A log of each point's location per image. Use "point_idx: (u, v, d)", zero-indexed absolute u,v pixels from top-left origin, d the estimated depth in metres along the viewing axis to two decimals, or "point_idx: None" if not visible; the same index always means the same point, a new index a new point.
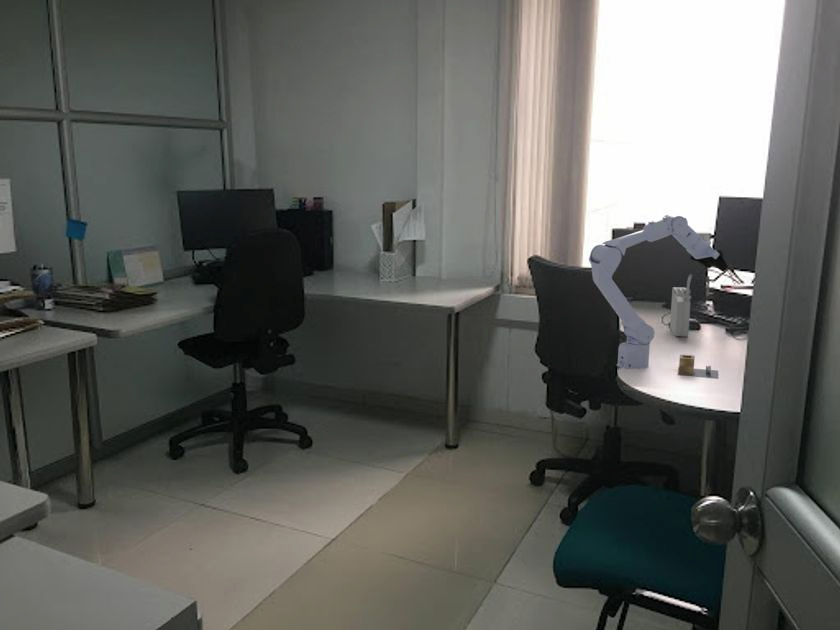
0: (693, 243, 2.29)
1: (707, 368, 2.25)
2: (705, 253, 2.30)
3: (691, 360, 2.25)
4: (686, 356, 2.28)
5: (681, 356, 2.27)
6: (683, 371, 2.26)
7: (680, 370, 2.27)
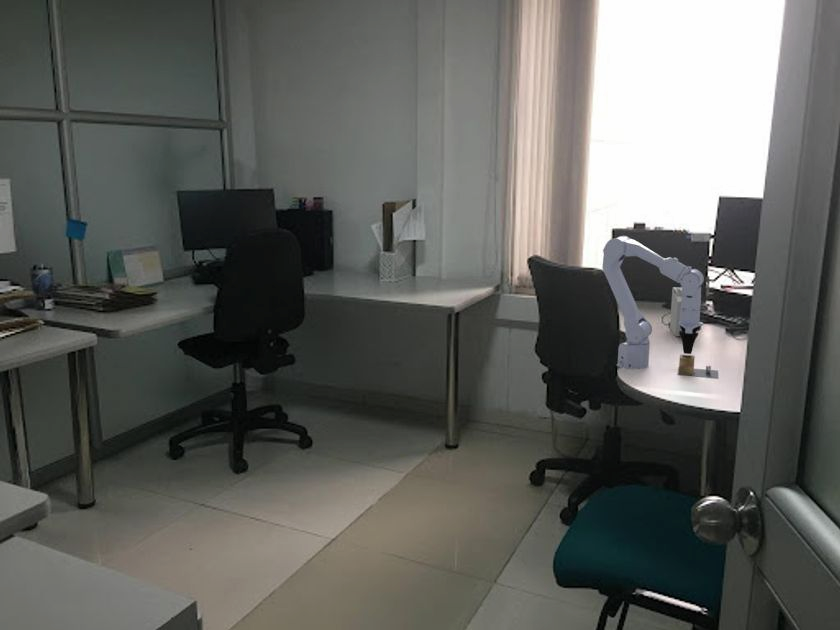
0: (685, 307, 2.22)
1: (707, 368, 2.25)
2: (687, 325, 2.22)
3: (691, 360, 2.25)
4: (686, 356, 2.28)
5: (681, 356, 2.27)
6: (683, 371, 2.26)
7: (680, 370, 2.27)
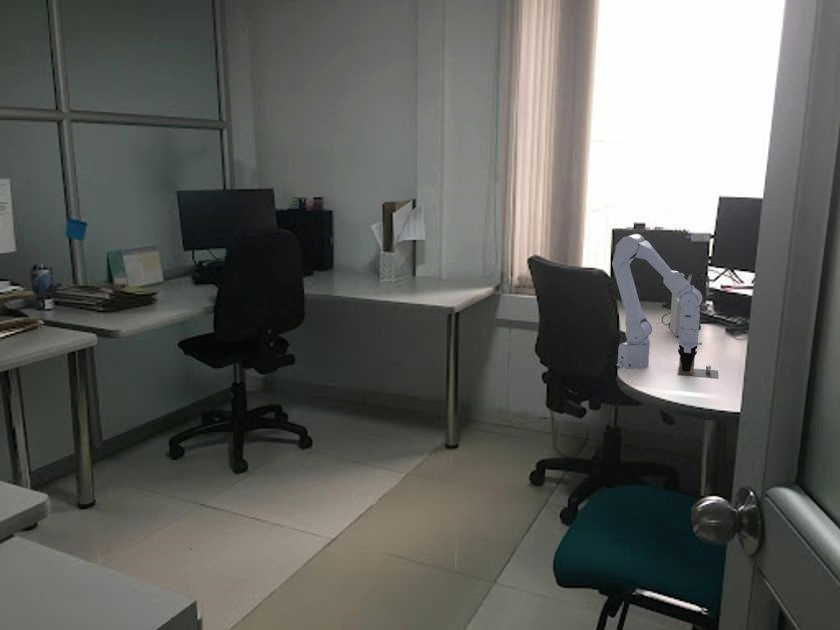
0: (684, 326, 2.23)
1: (707, 368, 2.25)
2: (685, 344, 2.24)
3: None
4: None
5: None
6: (683, 371, 2.26)
7: (680, 370, 2.27)
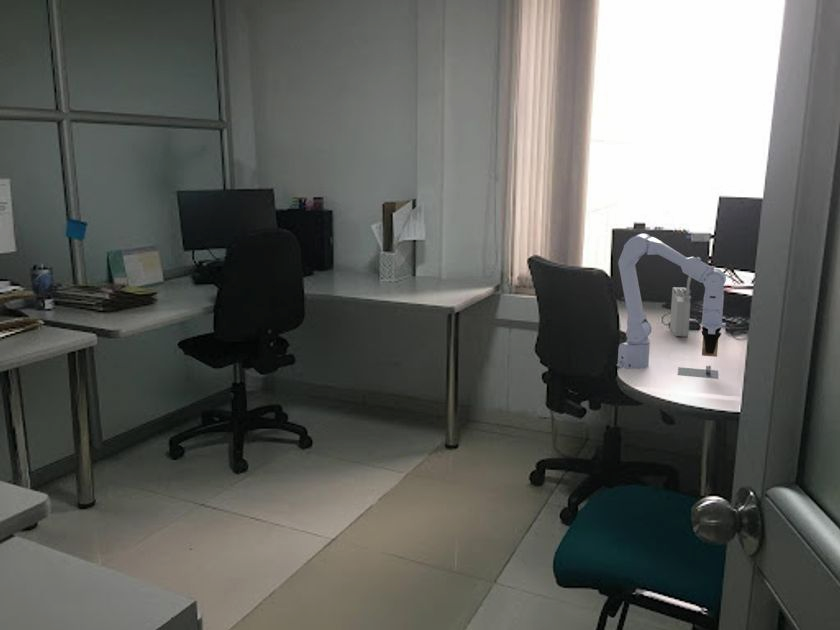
0: (708, 307, 2.19)
1: (707, 368, 2.25)
2: (709, 325, 2.20)
3: None
4: None
5: None
6: (706, 353, 2.23)
7: (703, 352, 2.23)
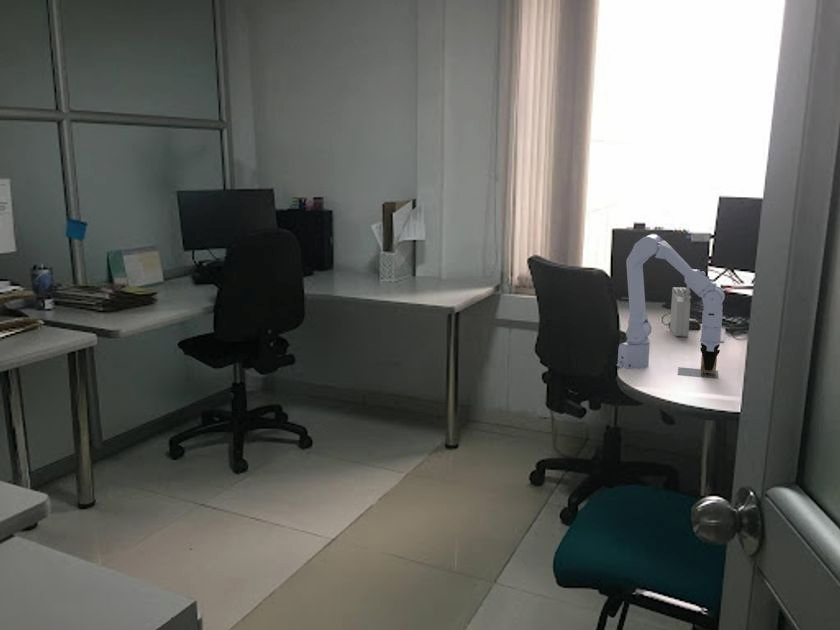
0: (707, 324, 2.20)
1: None
2: (708, 342, 2.21)
3: None
4: None
5: None
6: (705, 370, 2.24)
7: (702, 369, 2.24)
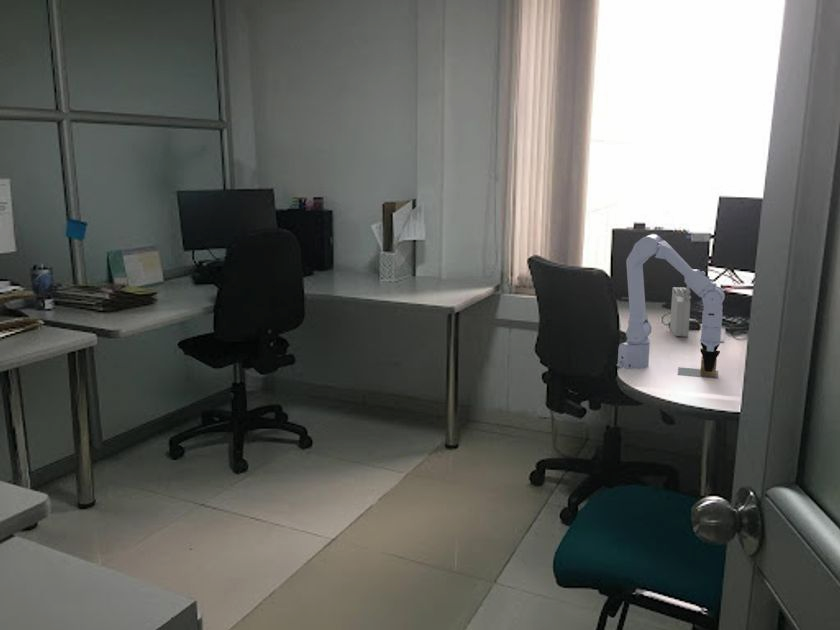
0: (707, 324, 2.20)
1: None
2: (708, 342, 2.21)
3: None
4: None
5: None
6: (705, 373, 2.24)
7: (702, 372, 2.24)
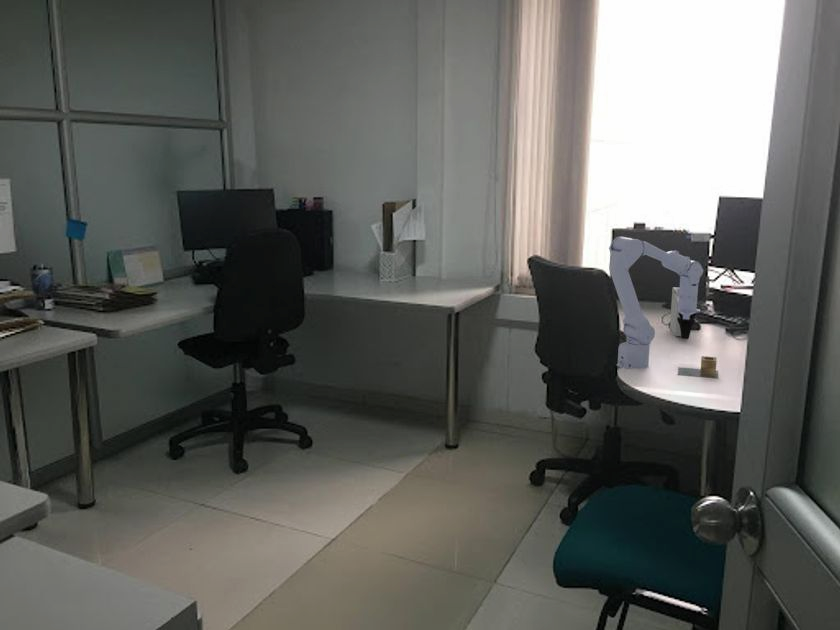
0: (691, 295, 2.33)
1: None
2: (684, 311, 2.35)
3: (713, 362, 2.22)
4: (708, 358, 2.26)
5: (703, 358, 2.25)
6: (705, 373, 2.24)
7: (702, 372, 2.24)
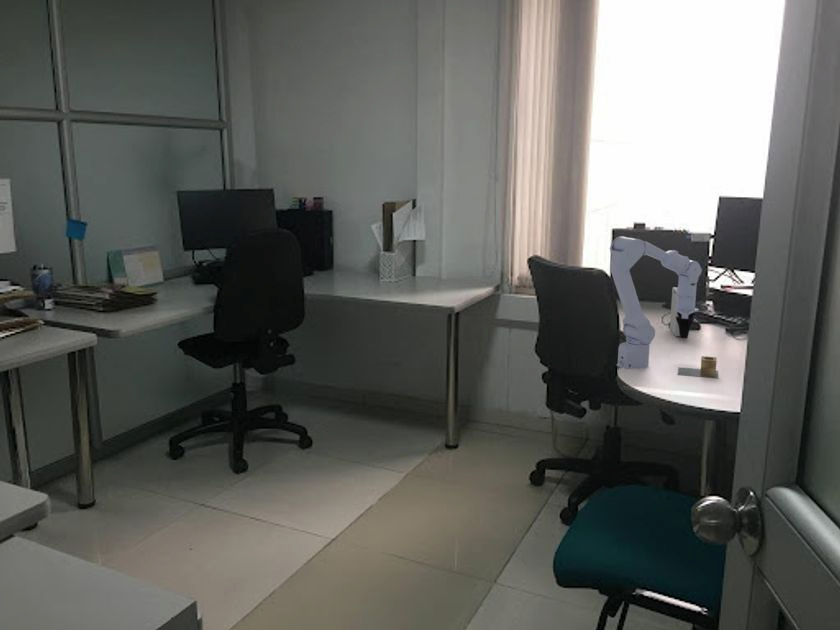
0: (689, 294, 2.34)
1: None
2: (683, 311, 2.36)
3: (713, 362, 2.22)
4: (708, 358, 2.26)
5: (703, 358, 2.25)
6: (705, 373, 2.24)
7: (702, 372, 2.24)
